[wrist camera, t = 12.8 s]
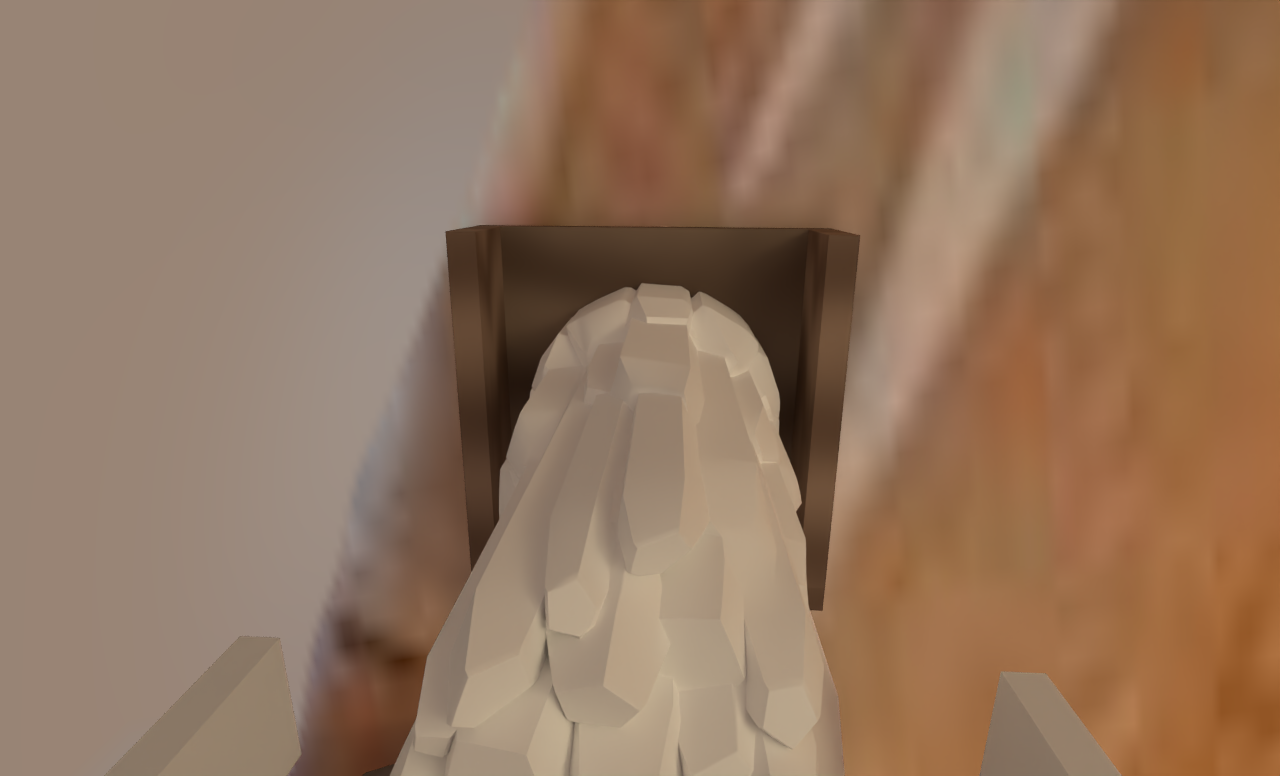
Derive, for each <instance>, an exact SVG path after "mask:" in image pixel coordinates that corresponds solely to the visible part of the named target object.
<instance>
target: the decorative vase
mask: <svg viewBox="0 0 1280 776" xmlns="http://www.w3.org/2000/svg"><path fill="white" fill-rule="evenodd" d="M779 412H780V398H779V391H778V388H777V385H776V382H775V379H774V376H773V373H772V370H771V367H770V364H769V361H768V358H767V356H766V354H765V352H764V350H763V349H762V347H761V345H760V343H759V342H758V340H757V338H755V336H754V334H753V332H752V331H751V329H750V327H749V325H748V324H747V323H746V322H745V321H744V320H743V319H742V317H741V316H740V315H739V314H737V313H736V312H735V311H733V310H732V309H730V308H729V307H727V306H726V305H724V304H722V303H721V302H719V301H717V300H716V299H714V298H712V297H710V296H709V295H707V294H705V293H702V292H698V293H697V294H696V295H695V296H693V297H692V298H691V297H690V293H689V291H688V290H686V289H685V288H683V287H682V286H671V285H658V284H645V283H641V285H640V286H639V287H638V289H637V290H634V289H633V288H631V287H624V288H622V289H619V290H617V291H615V292H613V293H610V294H608V295H606V296H604V297H601V298H599V299H597V300H595V301H593V302H592V303H590V304H588V305H586V306H584V307H583V308H581V309H579V310H578V312H577V313H576V314H575V315H574V317H571V319H570V320H569V321H568V322H567V324H566V325H565V326H564V327H563V329H562V330H561V331H560V332H559V334H558V335H557V336H556V338H555V339H554V340H553V342H552V343H551V345H550V346H549V347H548V349H547V350H546V351H545V353H544V354H543V356H542V357H541V359H540V362H539V365H538V368H537V371H536V374H535V377H534V380H533V383H532V389H531V391H530V398H529V400H528V401H527V403H526V404H525V406H524V407H523V409H522V411H521V412H520V415H519V418H518V420H517V423H516V426H515V429H514V432H513V435H512V439H511V442H510V445H509V449H508V452H507V455H506V458H507V459H506V460H505V462H504V464H503V465H502V467H501V469H500V484H499V521H498V523H497V525H496V527H495V529H494V530H493V532H492V534H491V536H490V538H489V540H488V542H487V544H486V546H485V547H484V549H483V551H482V553H481V555H480V557H479V559H478V561H477V563H476V565H475V566H474V568H473V570H472V572H471V574H470V576H469V578H468V580H467V582H466V584H465V585H464V587H463V589H462V591H461V593H460V595H459V597H458V599H457V601H456V603H455V605H454V606H453V608H452V610H451V612H450V614H449V616H448V618H447V620H446V622H445V624H444V625H443V627H442V629H441V631H440V633H439V635H438V637H437V639H436V641H435V643H434V645H433V647H432V649H431V651H430V652H429V654H428V656H427V661H426V667H425V672H424V678H423V684H422V689H421V695H420V701H419V706H418V712H417V718H416V720H415V722H414V724H413V726H412V728H411V731H410V733H409V735H408V737H407V739H406V741H405V743H404V745H403V747H402V750H401V752H400V754H399V756H398V758H397V761H396V763H395V765H394V767H393V769H392V771H391V774H390V776H845V773H844V761H843V749H842V737H841V725H840V713H839V701H838V694H837V691H836V688H835V685H834V682H833V679H832V676H831V673H830V670H829V667H828V664H827V661H826V658H825V655H824V652H823V649H822V645H821V642H820V639H819V636H818V633H817V630H816V627H815V624H814V621H813V618H812V615H811V612H810V609H809V605H808V592H807V578H806V538H805V535H804V533H803V530H802V527H801V525H800V522H799V519H798V516H797V514H796V511H797V509H798V508H799V506H800V505H801V503H802V501H801V495H800V490H799V486H798V481H797V478H796V475H795V473H794V470H793V468H792V465H791V463H790V460H789V458H788V455H787V453H786V451H785V448H784V446H783V443H782V441H781V439H780V436H779Z"/></svg>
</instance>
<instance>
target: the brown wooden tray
mask: <svg viewBox="0 0 1280 776" xmlns="http://www.w3.org/2000/svg"><path fill="white" fill-rule="evenodd" d="M859 242H860V235H856V234H852V233H847V232H843V231H839V230H835V229H824V228H717V227H611V226H504V225H479V226H474V227H468V228H462V229H457V230H451V231H446V244H447V257H448V270H449V283H450V296H451V309H452V322H453V335H454V348H455V361H456V375H457V388H458V401H459V414H460V427H461V440H462V453H463V466H464V479H465V492H466V505H467V519H468V532H469V545H470V558H471V571H472V570H473V568H474V566H475V565H476V563H477V561H478V559H479V557H480V555H481V553H482V551H483V549H484V547H485V546H486V544H487V542H488V540H489V538H490V536H491V534H492V532H493V530H494V529H495V527H496V525H497V523H498V521H499V484H500V469H501V467H502V465H503V464H504V462H505V460H506V459H507V458H506V455H507V452H508V449H509V445H510V442H511V439H512V435H513V432H514V429H515V426H516V423H517V420H518V418H519V415H520V412H521V411H522V409H523V407H524V406H525V404H526V403H527V401H528V400H529V398H530V391H531V389H532V383H533V380H534V377H535V374H536V371H537V368H538V365H539V362H540V359H541V357H542V356H543V354H544V353H545V351H546V350H547V349H548V347H549V346H550V345H551V343H552V342H553V340H554V339H555V338H556V336H557V335H558V334H559V332H560V331H561V330H562V329H563V327H564V326H565V325H566V324H567V322H568V321H569V320H570V319H571V317H574V315H575V314H576V313H577V312H578V310H579V309H581V308H583V307H584V306H586V305H588V304H590V303H592V302H593V301H595V300H597V299H599V298H601V297H604V296H606V295H608V294H610V293H613V292H615V291H617V290H619V289H622V288H624V287H631V288H633V289H634V290H637V289H638V287H639V286H640V285H641V283H645V284H658V285H671V286H682V287H683V288H685V289H686V290H688V291H689V293H690V297H691V298H692V297H693V296H695V295H696V294H697V293H698V292H702V293H705V294H707V295H709V296H710V297H712V298H714V299H716V300H717V301H719V302H721V303H722V304H724V305H726V306H727V307H729V308H730V309H732V310H733V311H735V312H736V313H737V314H739V315H740V316H741V317H742V319H743V320H744V321H745V322H746V323H747V324H748V325H749V327H750V329H751V331H752V332H753V334H754V336H755V338H757V340H758V342H759V343H760V345H761V347H762V349H763V350H764V352H765V354H766V356H767V358H768V361H769V364H770V367H771V370H772V373H773V376H774V379H775V382H776V385H777V388H778V391H779V398H780V412H779V436H780V439H781V441H782V443H783V446H784V448H785V451H786V453H787V455H788V458H789V460H790V463H791V465H792V468H793V470H794V473H795V475H796V478H797V481H798V486H799V490H800V495H801V501H802V503H801V505H800V506H799V508H798V509H797V511H796V514H797V516H798V519H799V522H800V525H801V527H802V530H803V533H804V535H805V538H806V578H807V592H808V605H809V609H810V610H818V611H822V610H823V600H824V590H825V580H826V570H827V560H828V550H829V540H830V531H831V521H832V511H833V501H834V491H835V481H836V471H837V461H838V451H839V441H840V431H841V421H842V411H843V401H844V391H845V381H846V371H847V361H848V351H849V341H850V332H851V322H852V312H853V302H854V292H855V282H856V272H857V262H858V252H859Z"/></svg>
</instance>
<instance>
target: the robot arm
mask: <svg viewBox="0 0 1280 776" xmlns="http://www.w3.org/2000/svg"><path fill="white" fill-rule="evenodd" d="M300 755H301V748H300V743H299V738H298V732H297V727H296V722H295V716H294V711H293V706H292V701H291V695H290V690H289V685H288V680H287V674H286V669H285V663H284V659H283V653H282V647H281V642H280V638H271V637H249V636H240V637H239V638H238V639H237V640H236V641H235V642H234V643H233V644H232V645H231V646H230V647H229V648H228V649H227V650H226V651H225V652H224V653H223V654H222V655H221V656H220V657H219V658H218V660H217V661H216V662H215V663H214V664H213V665H212V666H211V667H210V668H209V669H208V670H207V671H206V672H205V673H204V674H203V675H202V676H201V677H200V678H199V679H198V680H197V681H196V682H195V683H194V684H193V685H192V686H191V687H190V688H189V689H188V690H187V691H186V692H185V694H184V695H182V696H181V698H180V699H179V700H178V701H177V702H176V703H175V704H174V705H173V706H172V707H171V708H170V709H169V710H168V711H167V712H166V713H165V714H164V715H163V716H162V717H161V718H160V719H159V720H158V721H157V722H156V723H155V724H154V725H153V726H152V727H151V728H150V729H149V731H147V732H146V734H145V735H144V736H143V737H142V738H141V739H140V740H139V741H138V742H137V743H136V744H135V745H134V746H133V747H132V748H131V749H130V750H129V751H128V752H127V753H126V754H125V755H124V756H123V757H122V758H121V759H120V760H119V761H118V762H117V763H116V764H115V765H114V766H113V767H112V768H111V769H110V771H108V773H107V774H106V775H105V776H287V775H288V774H289V772H290V771H291V769H292V768H293V766H294V765H295V763H296V761H297V760H298V758H299V757H300ZM980 776H1122V775H1121V774H1120V773H1119V771H1118V770H1117V769H1116V767H1115V766H1114V765H1113V763H1112V762H1111V761H1110V759H1109V758H1108V756H1107V755H1106V754H1105V752H1104V751H1103V750H1102V748H1101V747H1100V746H1099V744H1098V743H1097V742H1096V740H1095V739H1094V738H1093V736H1092V735H1091V734H1090V732H1089V731H1088V730H1087V728H1086V727H1085V725H1084V724H1083V723H1082V721H1081V720H1080V719H1079V717H1078V716H1077V715H1076V713H1075V712H1074V711H1073V709H1072V708H1071V707H1070V705H1069V704H1068V703H1067V701H1066V700H1065V699H1064V697H1063V696H1062V695H1061V693H1060V692H1059V690H1058V689H1057V688H1056V686H1055V685H1054V684H1053V682H1052V681H1051V680H1050V678H1049V677H1048V676H1047V674H1044V673H1023V672H1001V674H1000V679H999V684H998V689H997V694H996V698H995V703H994V708H993V713H992V718H991V723H990V727H989V732H988V737H987V742H986V747H985V752H984V757H983V761H982V766H981V771H980Z"/></svg>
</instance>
